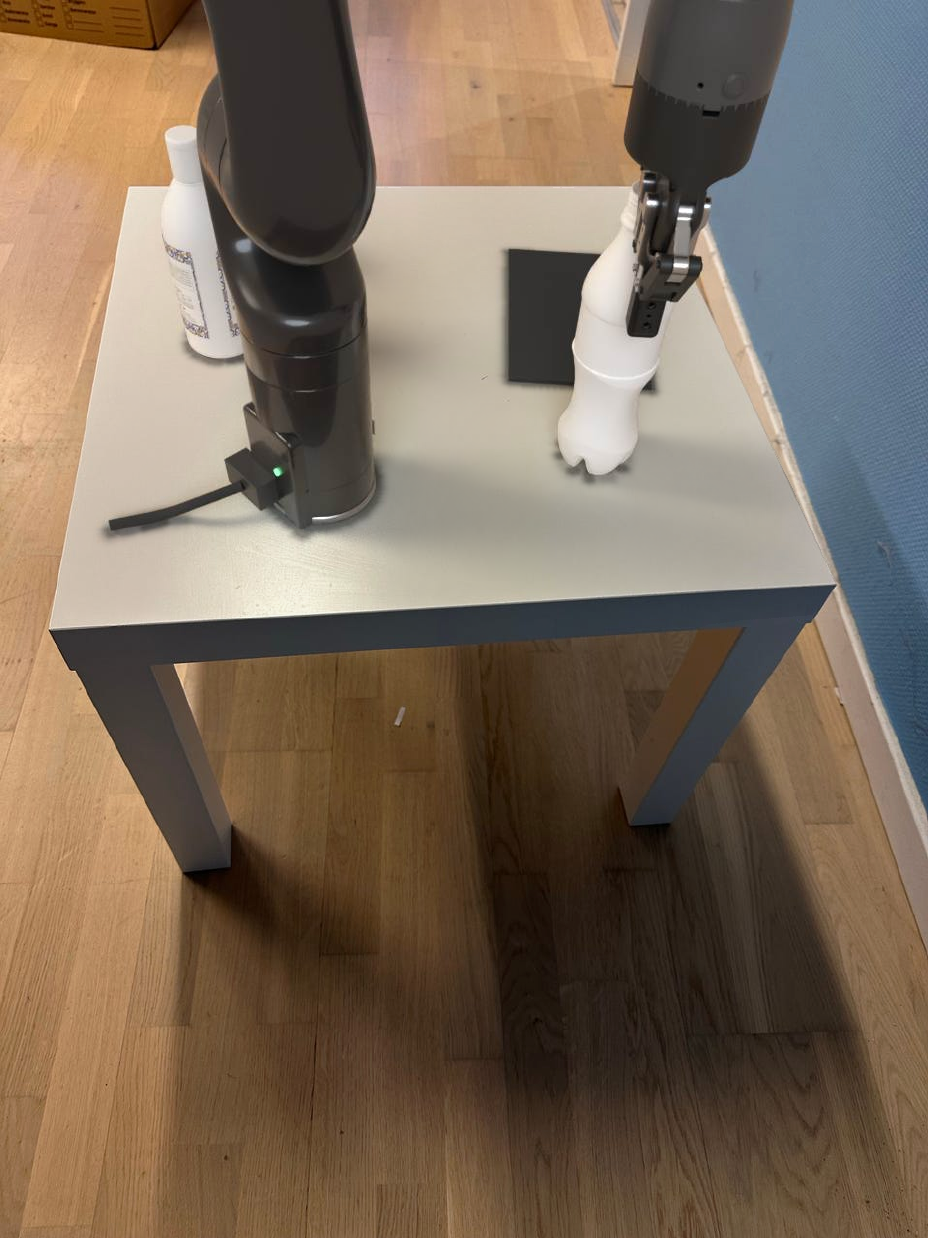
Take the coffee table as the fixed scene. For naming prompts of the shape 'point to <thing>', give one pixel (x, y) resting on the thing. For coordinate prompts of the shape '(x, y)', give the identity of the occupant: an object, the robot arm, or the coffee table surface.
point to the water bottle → (609, 360)
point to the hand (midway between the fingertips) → (640, 330)
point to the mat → (545, 314)
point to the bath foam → (196, 253)
